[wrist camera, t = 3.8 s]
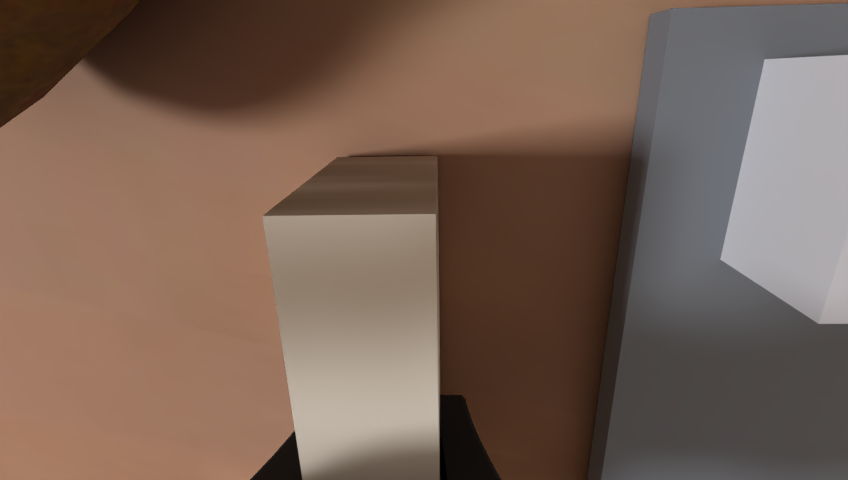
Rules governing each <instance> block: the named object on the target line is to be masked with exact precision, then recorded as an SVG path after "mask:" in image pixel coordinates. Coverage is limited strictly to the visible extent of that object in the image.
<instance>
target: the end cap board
mask: <svg viewBox="0 0 848 480" xmlns="http://www.w3.org/2000/svg"><path fill="white" fill-rule="evenodd" d="M587 480H848V3H840V4H806V5H771V6H736V7H702V8H671V9H668V10H665V11H661V12H658V13H654V14H651V15H650V20H649V27H648V34H647V42H646V49H645V56H644V64H643V71H642V78H641V86H640V93H639V101H638V108H637V115H636V123H635V130H634V137H633V145H632V152H631V159H630V167H629V174H628V181H627V189H626V196H625V204H624V211H623V218H622V226H621V233H620V240H619V248H618V255H617V262H616V270H615V277H614V285H613V292H612V299H611V307H610V314H609V321H608V329H607V336H606V343H605V351H604V358H603V366H602V373H601V380H600V388H599V395H598V402H597V410H596V417H595V424H594V432H593V439H592V446H591V454H590V461H589V469H588V476H587Z"/></svg>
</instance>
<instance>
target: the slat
mask: <svg viewBox="0 0 848 480" xmlns="http://www.w3.org/2000/svg"><path fill="white" fill-rule="evenodd" d="M263 222H264V229H265V236H266V242H267V249H268V255H269V262H270V269H271V275H272V282H273V289H274V295H275V302H276V308H277V315H278V322H279V328H280V335H281V341H282V348H283V355H284V361H285V368H286V374H287V381H288V388H289V394H290V401H291V407H292V414H293V421H294V427H295V434H296V441H297V447H298V454H299V460H300V467H301V474H302V480H441V476H440V318H439V232H438V156H395V157H337V158H336V159H335V160H333V161H332V162H331V163H329V164H328V165H327V166H326V167H324V168H323V169H322V170H321V171H319V172H318V173H317V174H315V175H314V176H313V177H312V178H310V179H309V180H308V181H307V182H305V183H304V184H303V185H301V186H300V187H299V188H298V189H296V190H295V191H294V192H292V193H291V194H290V195H289V196H287V197H286V198H285V199H284V200H282V201H281V202H280V203H278V204H277V205H276V206H275V207H273V208H272V209H271V210H269V211H268V212H267V213H266V214H264V215H263Z"/></svg>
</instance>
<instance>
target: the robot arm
mask: <svg viewBox="0 0 848 480" xmlns="http://www.w3.org/2000/svg"><path fill="white" fill-rule="evenodd" d="M440 476H441V480H501V478H500V477H499V475H498V473H497V472H496V470H495V468H494V466H493V464H492V462H491V461H490V459H489V457H488V455H487V453H486V451H485V449H484V447H483V445H482V443H481V441H480V438H479V436H478V434H477V432H476V429H475V427H474V424H473V422H472V419H471V417H470V414H469V411H468V408H467V404H466V399H465V398H464V397H463V396H462V395H440ZM250 480H302V474H301V467H300V460H299V454H298V447H297V441H296V434H295V431H294V432H293V433H292V434H291V436H290V437H289V438H288V439H287V440H286V441H285V443H284V444H283V445H282V446H281V447H280V448H279V449H278V451H277V452H276V453H275V454H274V455H273V456H272V457H271V458H270V459H269V460H268V461H267V463H266V464H265V465H264V466H263V467H262V468H261V469H260V470H259V471H258V472H257V473H256V474H255V475H254V476H253V477H252V478H251V479H250Z"/></svg>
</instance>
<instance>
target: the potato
mask: <svg viewBox="0 0 848 480" xmlns="http://www.w3.org/2000/svg"><path fill="white" fill-rule="evenodd" d="M139 2H140V0H0V127H2V126H3V125H5V124H6V123H7V122H9V121H10V120H12V119H13V118H14V117H16V116H17V115H19V114H20V113H21V112H23V111H24V110H26V109H27V108H29V107H30V106H31V105H33V104H34V103H36V102H37V101H38V100H40V99H41V98H43V97H44V96H45V95H46V94H47V93H48V92H49V91H50V90H51V89H52V88H53V87H54V86H55V85H56V84H57V83H58V82H59V81H60V80H61V79H62V78H63V77H64V76H65V75H66V74H67V73H68V72H69V71H70V70H71V69H72V68H73V67H74V66H75V65H76V64H77V63H78V62H79V61H80V60H81V59H83V58H84V57H85V56H86V55H87V54H88V53H89V52H90V51H91V50H92V49H93V48H94V47H95V46H96V45H97V44H98V43H99V42H100V41H101V40H102V39H103V38H104V37H105V36H106V35H107V34H109V33H110V32H111V31H112V30H113V29H114V28H115V27H116V26H117V25H118V24H119V23H120V22H121V21H122V20H123V19H124V18H125V17H126V16H127V15H128V14H129V13H130V12H131V11H132V10H133V9H134V8H135V6H136V5H137V4H138V3H139Z"/></svg>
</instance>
